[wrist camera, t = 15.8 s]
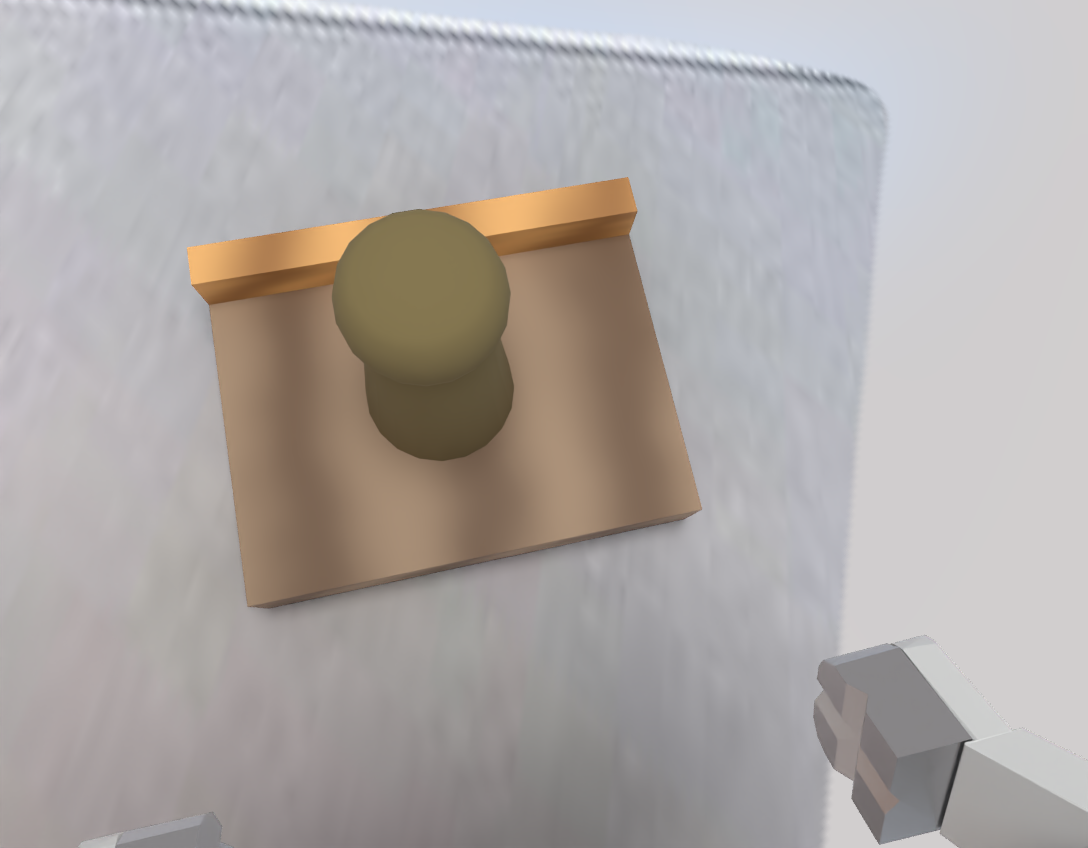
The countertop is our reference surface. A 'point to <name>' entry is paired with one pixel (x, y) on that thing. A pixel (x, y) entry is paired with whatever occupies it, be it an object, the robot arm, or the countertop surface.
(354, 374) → the dock
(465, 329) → the cork
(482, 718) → the countertop surface
